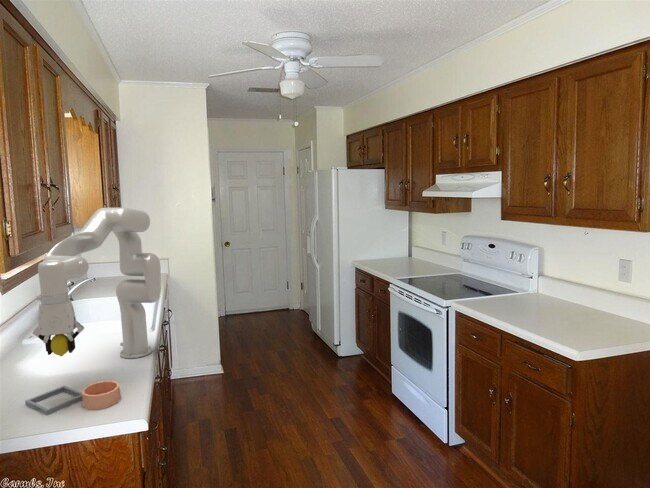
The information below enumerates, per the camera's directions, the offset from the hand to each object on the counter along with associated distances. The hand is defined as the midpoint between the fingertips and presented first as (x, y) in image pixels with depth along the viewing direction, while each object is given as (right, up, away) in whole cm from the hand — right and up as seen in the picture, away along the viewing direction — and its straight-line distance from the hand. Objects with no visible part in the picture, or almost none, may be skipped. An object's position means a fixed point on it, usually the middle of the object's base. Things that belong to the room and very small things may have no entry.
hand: (61, 351), depth 155 cm
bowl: (+12, -17, +2) cm, 21 cm away
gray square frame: (-3, -17, +2) cm, 18 cm away
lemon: (0, -2, 0) cm, 2 cm away
